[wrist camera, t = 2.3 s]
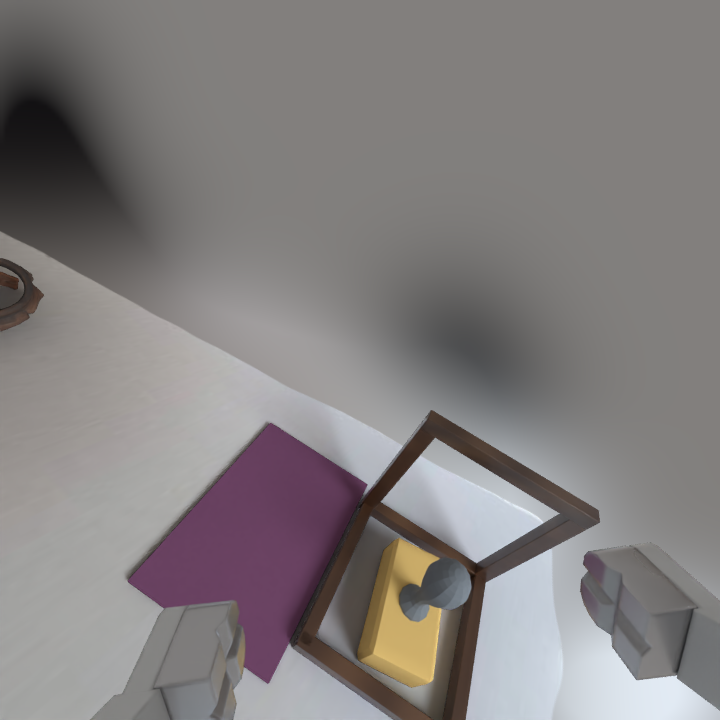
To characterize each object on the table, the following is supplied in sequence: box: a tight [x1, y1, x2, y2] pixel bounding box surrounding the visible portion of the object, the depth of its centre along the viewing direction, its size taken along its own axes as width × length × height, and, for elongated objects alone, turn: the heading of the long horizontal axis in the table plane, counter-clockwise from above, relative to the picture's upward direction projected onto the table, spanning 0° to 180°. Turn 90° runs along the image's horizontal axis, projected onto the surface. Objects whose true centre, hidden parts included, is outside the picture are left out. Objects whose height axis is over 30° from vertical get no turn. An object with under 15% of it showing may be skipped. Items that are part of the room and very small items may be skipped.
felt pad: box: [128, 423, 367, 684], centre depth 37 cm, size 14×20×1 cm
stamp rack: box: [293, 410, 600, 720], centre depth 30 cm, size 16×15×18 cm
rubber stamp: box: [357, 538, 472, 688], centre depth 32 cm, size 10×6×12 cm, turn 162°
